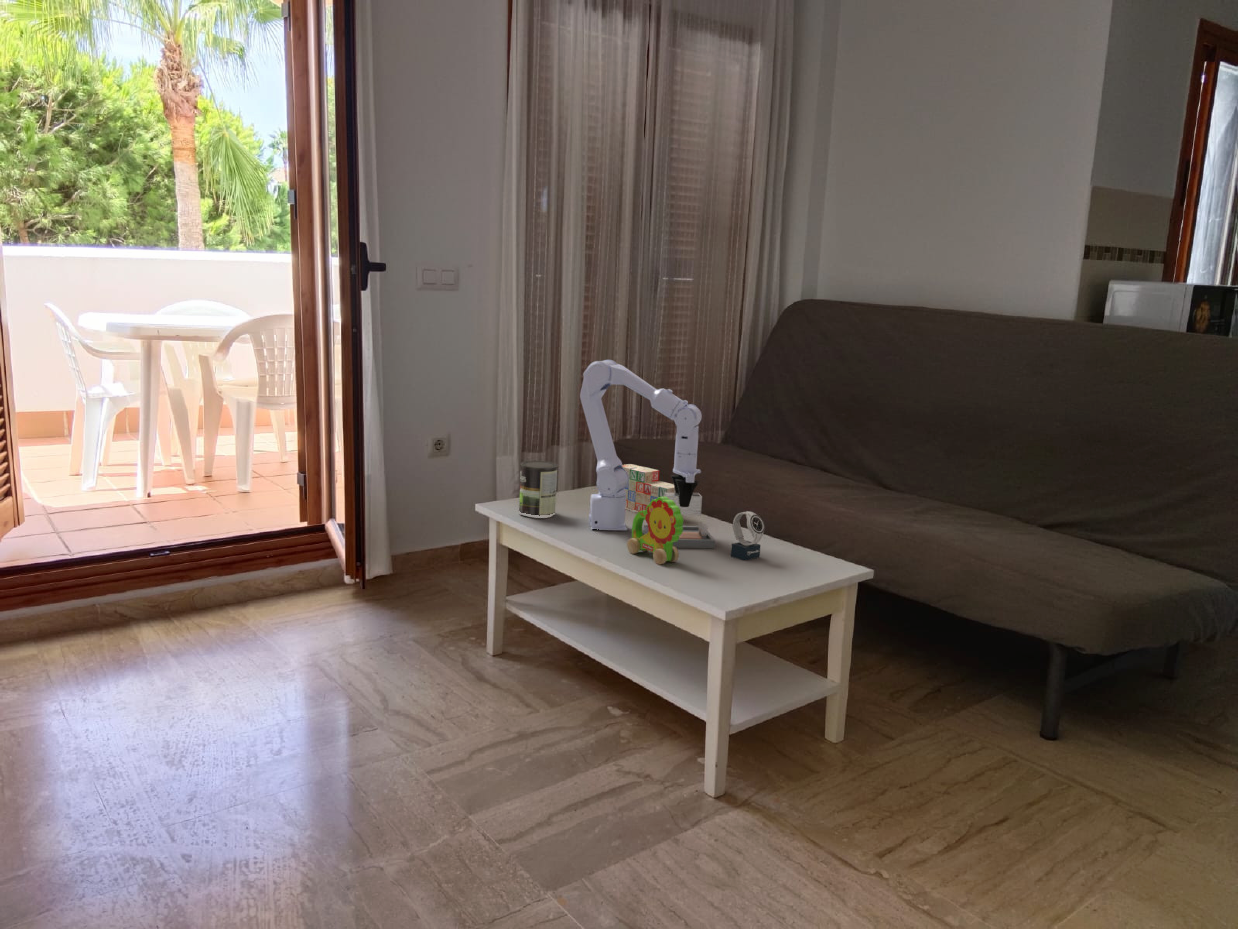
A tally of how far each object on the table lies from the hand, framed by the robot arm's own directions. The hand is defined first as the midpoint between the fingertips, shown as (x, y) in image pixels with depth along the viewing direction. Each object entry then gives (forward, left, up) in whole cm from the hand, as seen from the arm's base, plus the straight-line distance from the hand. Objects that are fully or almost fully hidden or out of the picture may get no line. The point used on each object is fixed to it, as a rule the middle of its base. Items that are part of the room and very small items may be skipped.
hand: (682, 504), depth 236 cm
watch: (+13, -18, -9) cm, 24 cm away
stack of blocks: (-5, +27, -9) cm, 29 cm away
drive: (0, 0, -2) cm, 2 cm away
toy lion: (-10, -21, -9) cm, 25 cm away
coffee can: (-36, +21, -9) cm, 43 cm away
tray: (-1, -4, -8) cm, 9 cm away
